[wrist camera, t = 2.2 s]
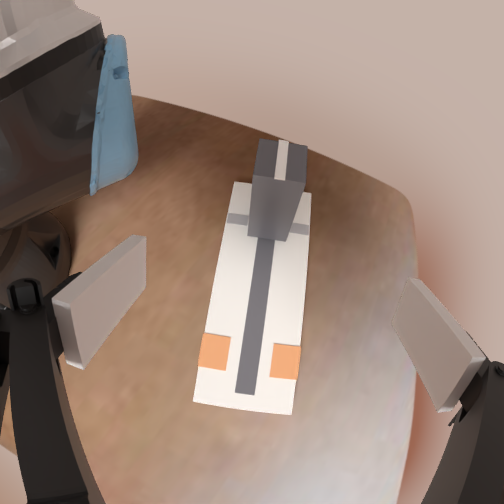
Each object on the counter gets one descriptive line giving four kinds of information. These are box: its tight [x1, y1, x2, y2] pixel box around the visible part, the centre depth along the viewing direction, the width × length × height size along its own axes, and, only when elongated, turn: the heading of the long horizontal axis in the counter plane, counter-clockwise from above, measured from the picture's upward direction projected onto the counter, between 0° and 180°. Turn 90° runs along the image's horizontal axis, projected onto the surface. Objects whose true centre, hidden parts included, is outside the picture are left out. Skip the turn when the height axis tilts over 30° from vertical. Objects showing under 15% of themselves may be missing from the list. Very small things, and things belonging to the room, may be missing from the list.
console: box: [193, 182, 311, 415], centre depth 31 cm, size 24×9×2 cm, turn 172°
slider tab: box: [247, 139, 307, 242], centre depth 28 cm, size 4×4×10 cm
